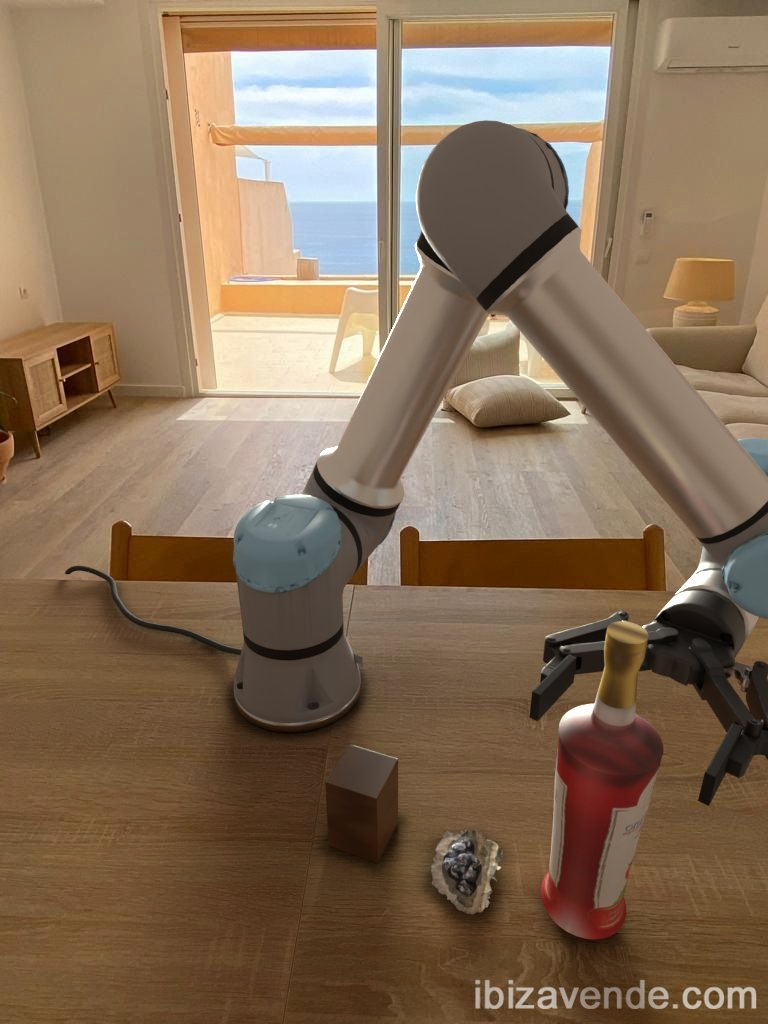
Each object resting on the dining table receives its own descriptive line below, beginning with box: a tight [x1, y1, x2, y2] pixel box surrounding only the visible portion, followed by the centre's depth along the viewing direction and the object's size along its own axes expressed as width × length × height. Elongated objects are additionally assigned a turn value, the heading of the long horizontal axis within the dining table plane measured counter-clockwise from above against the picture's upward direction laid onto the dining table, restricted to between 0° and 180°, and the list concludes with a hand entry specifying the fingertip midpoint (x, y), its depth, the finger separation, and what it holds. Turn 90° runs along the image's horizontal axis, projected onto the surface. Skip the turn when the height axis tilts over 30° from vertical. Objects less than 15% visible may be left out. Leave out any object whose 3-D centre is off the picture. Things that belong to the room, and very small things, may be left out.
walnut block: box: [324, 743, 399, 864], centre depth 64 cm, size 5×5×8 cm
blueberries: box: [430, 828, 504, 916], centre depth 61 cm, size 7×8×2 cm
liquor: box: [540, 621, 664, 940], centre depth 53 cm, size 7×7×28 cm
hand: (614, 745), depth 53 cm, fingers open, 13 cm apart
